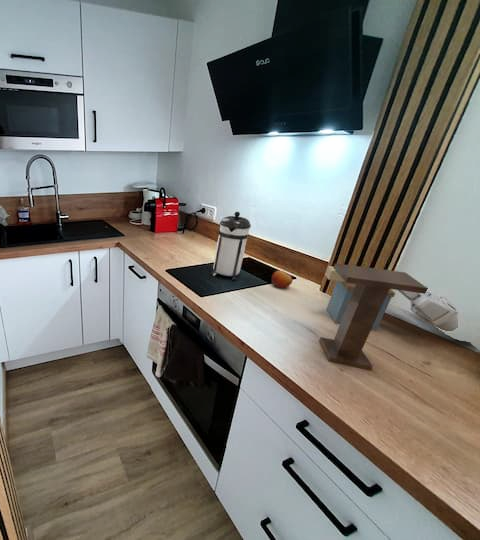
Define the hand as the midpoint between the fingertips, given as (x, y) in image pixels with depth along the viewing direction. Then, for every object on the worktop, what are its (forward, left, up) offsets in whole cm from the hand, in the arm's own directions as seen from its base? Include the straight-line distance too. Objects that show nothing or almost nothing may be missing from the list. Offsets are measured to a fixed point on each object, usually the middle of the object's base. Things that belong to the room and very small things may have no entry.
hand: (393, 280), depth 93 cm
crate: (+7, 0, -17) cm, 18 cm away
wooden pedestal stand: (+16, +24, -17) cm, 33 cm away
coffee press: (+50, -25, -17) cm, 59 cm away
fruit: (+27, -20, -17) cm, 38 cm away
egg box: (+7, 0, -2) cm, 8 cm away
